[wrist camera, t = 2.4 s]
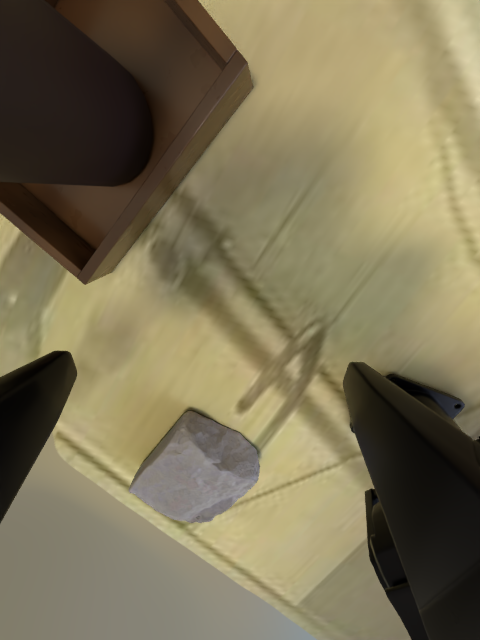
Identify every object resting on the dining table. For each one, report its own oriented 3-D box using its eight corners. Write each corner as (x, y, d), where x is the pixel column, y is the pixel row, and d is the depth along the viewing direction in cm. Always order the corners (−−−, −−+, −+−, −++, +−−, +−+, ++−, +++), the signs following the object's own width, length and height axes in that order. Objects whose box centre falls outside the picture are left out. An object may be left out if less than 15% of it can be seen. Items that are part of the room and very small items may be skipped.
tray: (253, 87, 15) (248, 62, 12) (111, 272, 21) (84, 285, 18) (92, -111, 13) (39, -198, 10) (-19, 159, 19) (-72, 152, 16)
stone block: (268, 435, 28) (181, 400, 25) (274, 483, 24) (171, 450, 21) (211, 485, 34) (133, 462, 31) (208, 532, 30) (118, 511, 26)
